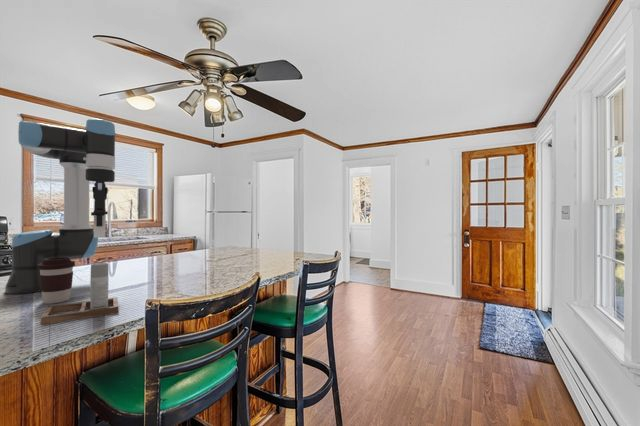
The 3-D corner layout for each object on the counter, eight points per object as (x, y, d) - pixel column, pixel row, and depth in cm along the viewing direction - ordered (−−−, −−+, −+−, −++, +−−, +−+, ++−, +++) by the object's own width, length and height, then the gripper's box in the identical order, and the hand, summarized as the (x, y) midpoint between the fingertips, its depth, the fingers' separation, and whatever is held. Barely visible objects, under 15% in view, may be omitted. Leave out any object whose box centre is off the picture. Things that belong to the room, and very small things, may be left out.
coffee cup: (52, 306, 100) (52, 261, 99) (29, 304, 102) (29, 260, 101) (81, 298, 109) (82, 256, 109) (60, 296, 111) (60, 255, 111)
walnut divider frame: (47, 312, 94) (48, 306, 94) (117, 303, 104) (117, 297, 104) (40, 324, 84) (40, 317, 84) (118, 313, 94) (118, 306, 94)
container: (93, 308, 98) (93, 263, 98) (110, 307, 99) (110, 262, 99) (87, 313, 93) (88, 265, 93) (105, 312, 95) (105, 264, 95)
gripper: (87, 171, 104) (87, 232, 104) (82, 163, 84) (82, 239, 84) (114, 173, 108) (113, 232, 109) (115, 166, 88) (114, 238, 88)
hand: (99, 235), depth 96 cm, fingers open, 13 cm apart
